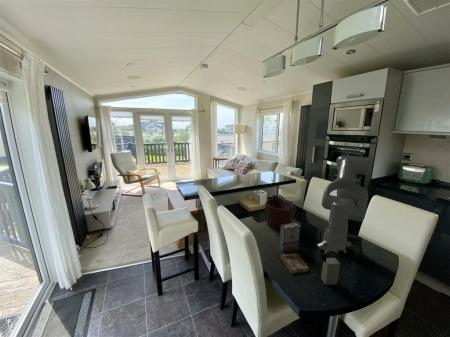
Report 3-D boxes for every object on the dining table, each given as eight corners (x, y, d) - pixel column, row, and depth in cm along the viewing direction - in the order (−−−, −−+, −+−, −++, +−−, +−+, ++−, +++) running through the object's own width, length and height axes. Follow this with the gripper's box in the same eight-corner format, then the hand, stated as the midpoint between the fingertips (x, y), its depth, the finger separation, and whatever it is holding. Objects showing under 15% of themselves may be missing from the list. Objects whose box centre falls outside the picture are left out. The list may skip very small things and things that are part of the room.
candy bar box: (293, 244, 126) (295, 222, 122) (298, 249, 121) (300, 226, 118) (278, 247, 123) (280, 224, 119) (282, 252, 118) (285, 228, 115)
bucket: (297, 234, 138) (300, 202, 132) (266, 233, 138) (269, 201, 133) (287, 218, 162) (289, 190, 156) (261, 218, 162) (262, 190, 157)
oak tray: (296, 256, 114) (296, 253, 114) (308, 271, 103) (308, 267, 103) (281, 258, 113) (281, 255, 112) (291, 273, 101) (291, 269, 101)
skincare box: (331, 277, 99) (335, 257, 96) (337, 284, 94) (340, 263, 92) (320, 278, 98) (323, 257, 96) (324, 285, 94) (328, 263, 91)
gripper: (346, 222, 95) (341, 253, 98) (315, 224, 92) (311, 255, 95) (359, 230, 88) (353, 262, 91) (326, 232, 84) (321, 266, 88)
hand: (331, 259), depth 93 cm, fingers open, 9 cm apart
